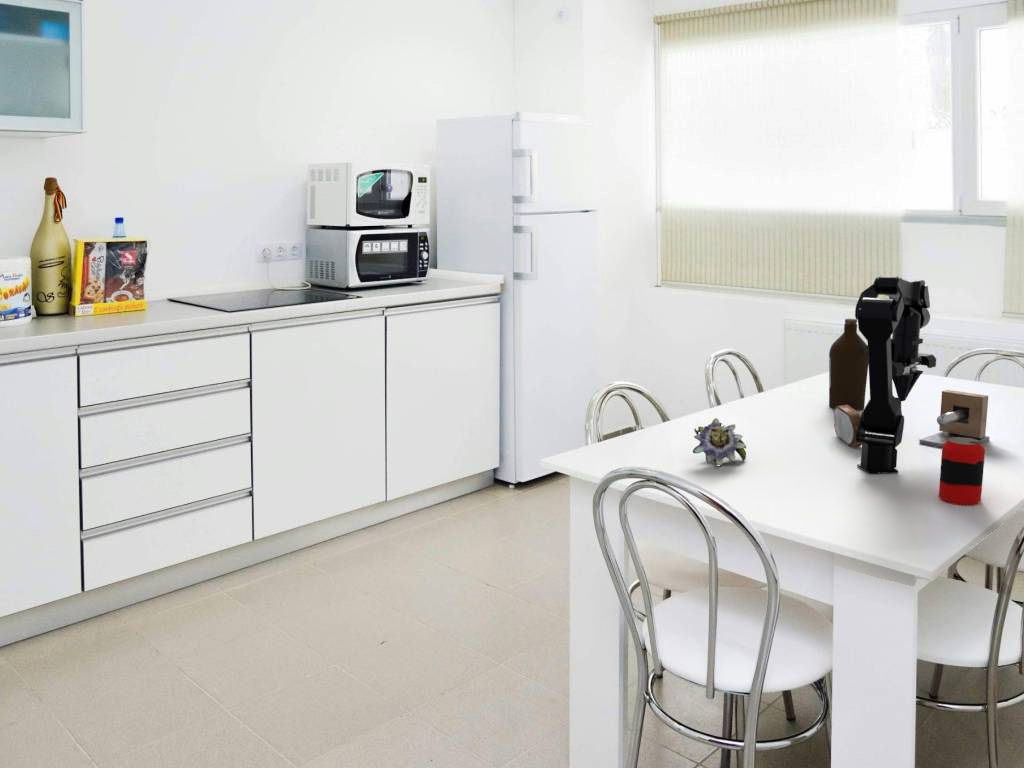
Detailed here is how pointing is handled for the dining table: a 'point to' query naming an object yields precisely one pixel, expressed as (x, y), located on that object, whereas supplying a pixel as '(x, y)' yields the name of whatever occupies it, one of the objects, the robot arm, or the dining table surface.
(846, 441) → the tin
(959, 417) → the stand
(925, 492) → the dining table surface
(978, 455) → the soda can
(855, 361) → the olive oil
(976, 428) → the wooden block on rod
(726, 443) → the passion flower
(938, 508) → the dining table surface
